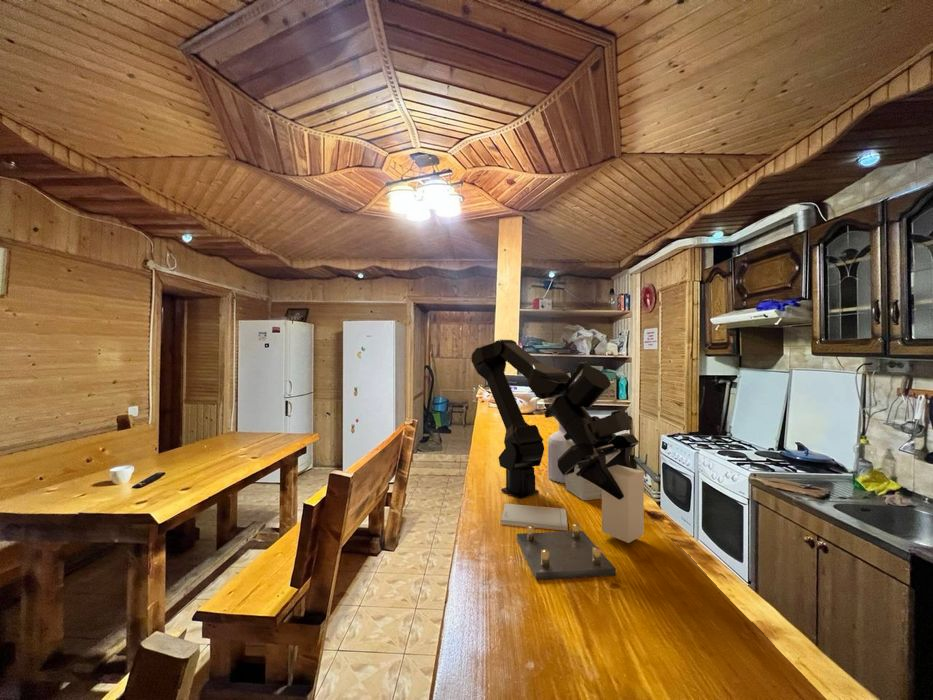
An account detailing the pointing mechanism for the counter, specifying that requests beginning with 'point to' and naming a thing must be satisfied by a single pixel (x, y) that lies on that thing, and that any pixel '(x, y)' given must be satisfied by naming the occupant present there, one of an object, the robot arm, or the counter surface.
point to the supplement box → (581, 483)
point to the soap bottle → (556, 454)
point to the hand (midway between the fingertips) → (630, 494)
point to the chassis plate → (563, 554)
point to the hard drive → (534, 517)
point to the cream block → (624, 505)
